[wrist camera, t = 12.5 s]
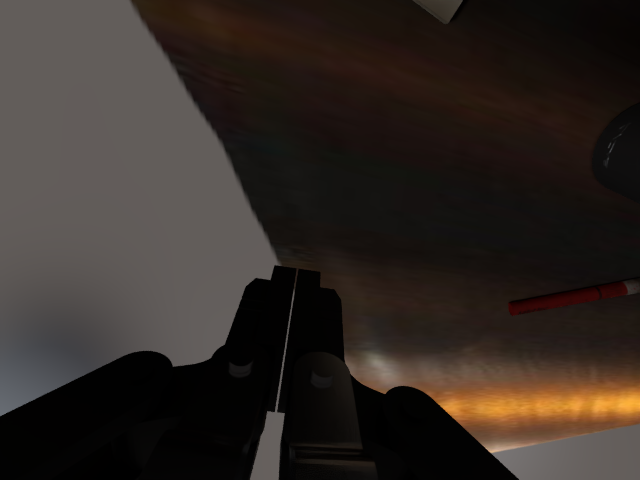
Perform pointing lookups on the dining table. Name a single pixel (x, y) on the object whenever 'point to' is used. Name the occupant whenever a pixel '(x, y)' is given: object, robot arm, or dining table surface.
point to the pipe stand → (440, 8)
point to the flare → (575, 297)
